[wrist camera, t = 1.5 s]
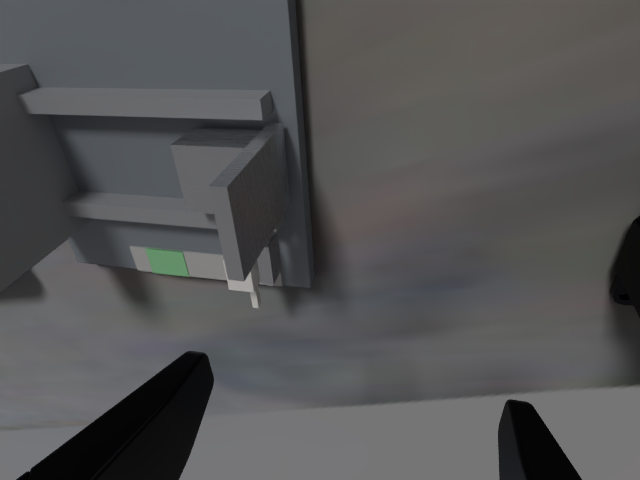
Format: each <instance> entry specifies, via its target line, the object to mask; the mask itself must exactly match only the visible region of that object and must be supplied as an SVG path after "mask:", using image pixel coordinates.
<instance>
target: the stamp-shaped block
mask: <svg viewBox="0 0 640 480" xmlns="http://www.w3.org/2000/svg"><path fill="white" fill-rule="evenodd" d="M223 264H224V268H225V273H226V278H227V282H228V287H229V290H236V291H245V292H250V294H251V300H252V305H253V308H259V307H260V305H261V298H260V291H259V285H258V284H259V283H260V275H259V268H258V262H257V261H256V262H255V264H254V266H253V268H252V269H251V271H250V273H249V275H248V276H247V278H246V280H245V281H235V280H228V277H227V272H226V267H225V262H224V260H223Z"/></svg>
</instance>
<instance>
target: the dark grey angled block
mask: <svg viewBox="0 0 640 480" xmlns="http://www.w3.org/2000/svg"><path fill="white" fill-rule="evenodd" d="M171 149H172V153H173V157H174V161H175V165H176V169H177V173H178V177H179V181H180V185H181V189H182V193H183V197H184V201H185V205H186V209H187V212H195V213H208V214H214V215H215V220H216V225H217V229H218V234H219V239H220V244H221V248H222V253H223V258H224V262H225V267H226V272H227V277H228V280H235V281H245V280H246V278H247V276H248V275H249V273H250V271H251V269H252V268H253V266H254V264H255V262H256V261H257V262H258V268H259V275H260V281H261V284H270V285H274V284H275V282H276V279H277V277H278V275H279V273H280V271H281V269H282V265H281V257H280V249H279V241H278V232H274V230H275V228H276V226H277V225H278V223H279V221H280V220H281V218H282V216H283V214H284V213H285V211H286V209H287V207H288V206H289V204H290V202H291V199H290V189H289V178H288V168H287V158H286V148H285V138H284V127H283V123H268V124H267V125H266V126H265V127H264V128H263V129H262V130H261V129H230V128H200V127H194V128H192V129H191V130H190V131H188V132H187V133H186V134H184V135H183V136H182V137H180V138H179V139H178V140H176V141H175V142H174V143H172V144H171Z"/></svg>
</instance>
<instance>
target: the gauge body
mask: <svg viewBox="0 0 640 480" xmlns="http://www.w3.org/2000/svg"><path fill="white" fill-rule="evenodd" d="M268 123H283V127H284V138H285V148H286V158H287V168H288V178H289V189H290V199H291V202H290V204H289V206H288V207H287V209H286V211H285V213H284V214H283V216H282V218H281V220H280V221H279V223H278V225H277V226H276V228H275V230H274V232H278V241H279V249H280V257H281V265H282V269H281V271H280V273H279V275H278V277H277V279H276V282H275V284H274V285H270V284H263V285H267V286H280V287H282V286H283V285H285V286H294V287H303V288H311V285H312V283H313V280H314V278H315V270H314V256H313V242H312V228H311V214H310V200H309V186H308V171H307V157H306V143H305V129H304V115H303V101H302V87H301V73H300V59H299V45H298V31H297V17H296V2H295V0H0V293H1V292H2V291H3V290H4V289H6V288H7V287H8V286H9V285H11V284H12V283H13V282H14V281H16V280H17V279H18V278H19V277H21V276H22V275H23V274H24V273H26V272H27V271H28V270H29V269H31V268H32V267H33V266H34V265H36V264H37V263H38V262H40V261H41V260H42V259H43V258H45V257H46V256H47V255H48V254H50V253H51V252H52V251H53V250H55V249H56V248H57V247H58V246H60V245H61V244H62V243H63V242H65V241H66V240H67V239H68V240H69V242H70V245H71V247H72V249H73V251H74V254H75V256H76V258H77V260H78V262H80V263H89V264H98V265H107V266H116V267H125V268H134V269H137V270H139V271H148V272H153V273H159V274H168V275H177V276H185V277H189V276H192V277H201V278H210V279H218V280H227V278H226V273H225V268H224V264H223V260H224V258H223V253H222V248H221V244H220V239H219V234H218V229H217V225H216V220H215V215H214V214H208V213H195V212H187V209H186V205H185V201H184V197H183V193H182V189H181V185H180V181H179V177H178V173H177V169H176V165H175V161H174V157H173V153H172V149H171V144H172V143H174V142H175V141H176V140H178V139H179V138H180V137H182V136H183V135H184V134H186V133H187V132H188V131H190V130H191V129H192V128H194V127H200V128H230V129H261V130H262V129H263V128H264V127H265V126H266V125H267V124H268ZM259 284H261V281H260V283H259Z"/></svg>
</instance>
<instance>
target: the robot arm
mask: <svg viewBox="0 0 640 480" xmlns="http://www.w3.org/2000/svg"><path fill="white" fill-rule="evenodd" d="M615 271H616V273H617V274H616V277H615V279H614V282H613V284H612V286H611V289H610V293H611V295H612V297H613V299H614V301H615V302H617V303H619V304H623V305H633V306H634V307H635V309H636V311H637V313H638V315H639V317H640V216H639V217H637V218H636V219H635V220H634V221H633V223H632V225H631V228H630V230H629V233H628V235H627V238H626V240H625V243H624V245H623V248H622V250H621V252H620V255H619V257H618V260H617V262H616V265H615ZM622 292H627V293H626V294H621V293H622ZM213 384H214V377H213V373H212V369H211V366H210V362H209V359H208V356H207V355H206V354H205V353H202V352H196V351H188V352H186V353H184V354H183V355H181V356H180V357H179V358H177V359H176V360H175V361H174V362H172V363H171V364H170V365H168V366H167V367H166V368H164V369H163V370H162V371H160V372H159V373H158V374H156V375H155V376H154V377H152V378H151V379H150V380H148V381H147V382H146V383H144V384H143V385H142V386H140V387H139V388H138V389H136V390H135V391H134V392H132V393H131V394H130V395H128V396H127V397H126V398H124V399H123V400H122V401H120V402H119V403H118V404H116V405H115V406H114V407H112V408H111V409H110V410H108V411H107V412H106V413H104V414H103V415H102V416H100V417H99V418H98V419H96V420H95V421H94V422H92V423H91V424H90V425H88V426H87V427H86V428H84V429H83V430H82V431H80V432H79V433H78V434H76V435H75V436H74V437H72V438H71V439H70V440H68V441H67V442H66V443H64V444H63V445H62V446H60V447H59V448H58V449H56V450H55V451H54V452H52V453H51V454H50V455H49V456H47V457H46V458H44V459H43V460H42V461H40V462H39V463H38V464H36V465H35V466H34V467H32V468H31V470H30V472H29V471H28V472H26V473H24V474H23V475H22V476H20V477H19V478H18V479H16V480H179V478H180V476H181V473H182V472H183V469H184V467H185V465H186V462H187V460H188V458H189V455H190V453H191V450H192V447H193V445H194V442H195V439H196V436H197V433H198V430H199V427H200V424H201V421H202V418H203V415H204V412H205V409H206V406H207V403H208V400H209V397H210V394H211V391H212V388H213ZM498 446H499V473H500V474H499V476H500V480H582V479H581V478H580V476H579V475H578V473H577V471H576V470H575V468H574V467H573V465H572V464H571V463H570V461H569V459H568V458H567V457H566V455H565V453H564V452H563V450H562V449H561V447H560V446H559V444H558V443H557V442H556V440H555V438H554V437H553V435H552V434H551V433H550V431H549V429H548V428H547V426H546V425H545V424H544V422H543V420H542V419H541V417H540V416H539V414H538V413H537V411H536V410H535V409H534V407H533V406H532V405H531V404H530V403H528V402H524V401H517V400H508V401H507V402H506V403H505V406H504V410H503V413H502V416H501V420H500V423H499V430H498Z"/></svg>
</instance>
